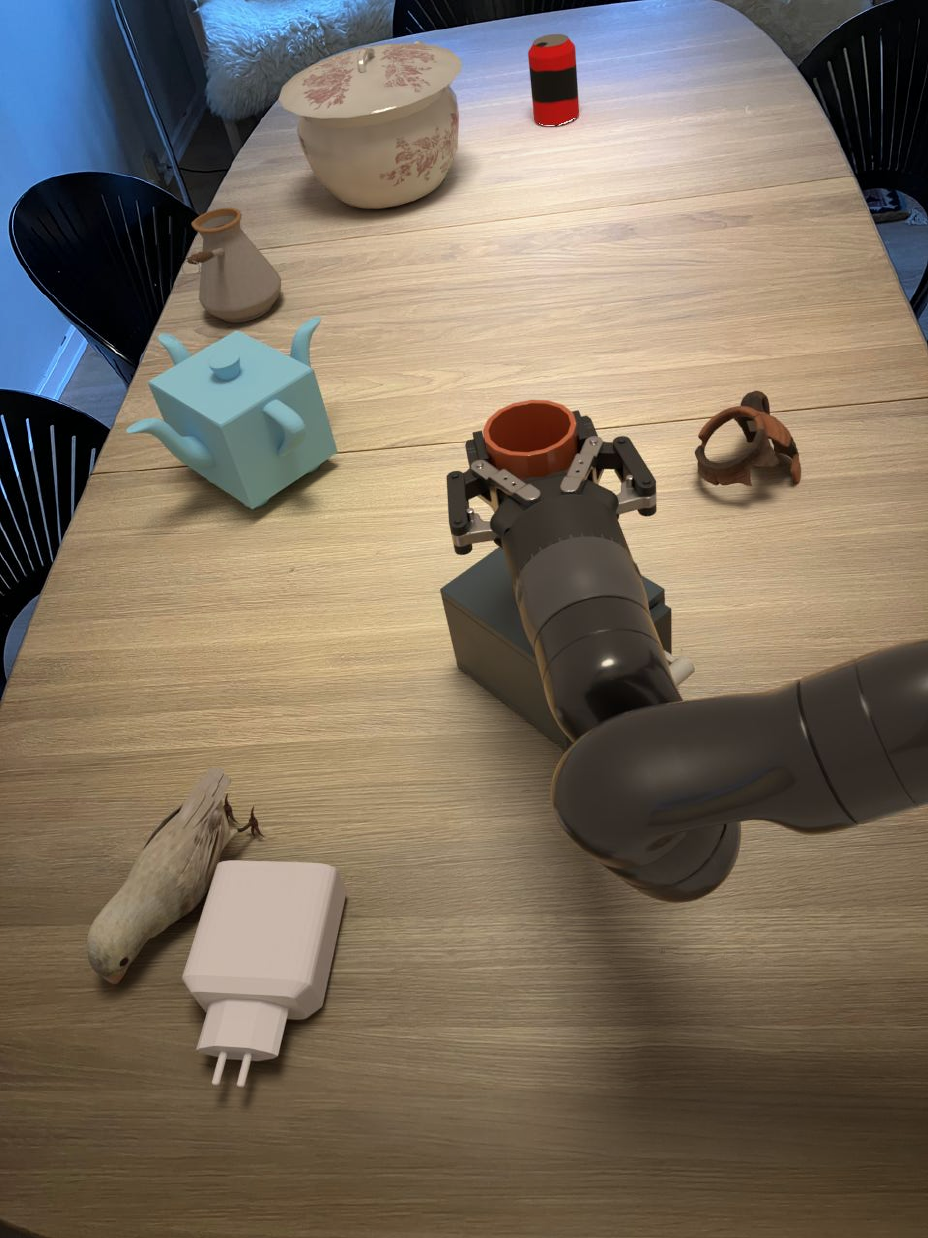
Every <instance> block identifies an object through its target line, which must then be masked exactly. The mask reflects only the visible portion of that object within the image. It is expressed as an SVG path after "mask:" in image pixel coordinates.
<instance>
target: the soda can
mask: <svg viewBox="0 0 928 1238" xmlns="http://www.w3.org/2000/svg"><path fill="white" fill-rule="evenodd" d="M576 54H577V53H576V45H575V44H574V42H573V41H572V40H571V39H570V37H569V36H568V35H567V34H563V33H552V34H551V33H550V34H545V35H542V36H540V37H537V38H535V39H533V41H532V44H531V46H530V48H529V49H528V52H527V58H528V68H529V79H530V80H529V81H530V89H531V90H530V91H531V101H532V113H533V120H534V122H535V123H536V124H538V123H540V124H543V125H559V124H561V123H564V122H566V121H569V120H571V119H573V118H576V117H577V118H578V116H579V115H580V103H579V89H578V88H579V87H578V85H579V84H578V72H577V71H578V70H577V55H576ZM578 114H579V115H578ZM577 118H576V119H577Z"/></svg>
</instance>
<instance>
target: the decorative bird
mask: <svg viewBox="0 0 928 1238" xmlns="http://www.w3.org/2000/svg"><path fill="white" fill-rule="evenodd" d="M231 782H232V778H231V777H230V776H229V775H228V774H227V773H225V770H224V768H223V767H221V766H220V765H216V766H214V767H209V768H208V769H207V770H206V772H205V773H204V775H203V777H202V778H200V779H199V780H198V781H197V783H196V785H195V786H194V787H193V788H192V790H191V791H190V793H189V794H188V796H187V798H186V799H185V801H184V802H182V803H181V804H180V805H179V806H177V807H175V808H174V810H172V811H171V812H170V813H168V815H166V816H165V817H164V818H163V819H162V820H161V821H160V822H159V823H158V824H157V826H155V828H154V829H153V831H151V833H150V835H149V836H148V837H147V838H146V841H145V842H144V843H143V846H142V848H141V850H140V852H139V854H138V855H137V857H136V859H135V862H134V863H133V865H132V867H131V869H130V872H129V874H128V876H127V878H126V880H125V882H123V884H122V886H121V887H120V888H119V890H118V891H117V892H116V893H115V894H114V895H113V897H112V898H111V899H110V900H109V901H108V902H107V904H105V906H104V907H103V908H102V910H101V911H100V912H99V913H98V914H97V916H96V917H95V919H94V920H93V922H92V924H91V926H90V927H89V930H88V933H87V937H86V952H87V958H88V962H89V965H90V966H91V968H92V970H93V971H94V972H95V973H96V974H98V975H100V977H102V978H104V980H106V981H107V982H108V983H110V984H112V985H117V984H118V983H120V982H121V980H122V979H123V977H124V976H125V975H126V972H127V970H128V968H129V967H130V965H131V964H132V963H133V961H135V959H136V958H137V957H138V955H139V953H140V951H142V948H143V947H144V945H146V943H147V942H148V940H149V939H154V938H156V937H157V936H158V935H159V934H161V933H162V932H164V931H165V930H166V929H167V928H168V927H170V926H171V925H172V924H174V923H175V922H177V921H178V920H180V919H182V918H183V917H185V916H186V915H188V914H190V912H192V911H193V910H194V909H195V908H196V907H197V906H198V905H199V904H200V903H201V901H202V900H203V898H204V896H205V895H206V893H207V891H208V889H209V888H210V886H211V883H212V880H213V877H214V873H215V870H216V867H217V864H218V863H219V862H220V858H221V855H222V853H223V851H224V849H225V847H226V846H227V844H229V842H230V841H231V840H232V839H233V838H235V837H236V836H237V835H238V833H243V832H245V831H246V830H248V829H249V828H250V832H251V834H252V836H253V837H256V835H255V832H256V833H257V834H258V835H259V836H261V837H263V838H266V836H265V835H264V834H262V832H261V830H260V828H259V820H258V818H256V816H255V814H254V811H255V805H253V806H252V808H251V810H250V818H248V822H247V823H246V824H245V825H244V826H243V827H239V828H237V827H236V828H232V829H230V821H229V819H231V821H233V822H234V823H235V824H238V825H240V823H239V822H238V821H237V820H236V819H235V817H234V815H233V808H232V806H231V804H230V803H229V801H228V797H229V792H227V793H226V794H225V792H226V791H227V789H228V788H229V786H230V785H231ZM224 796H225V797H224ZM223 798H224V803H223Z"/></svg>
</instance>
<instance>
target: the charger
mask: <svg viewBox="0 0 928 1238" xmlns="http://www.w3.org/2000/svg"><path fill="white" fill-rule="evenodd" d="M208 889H209V890H208V893H207V896H206V899H205V903H204V906H203V909H202V912H201V915H200V919H199V922H198V924H197V928H196V931H195V935H194V938H193V941H192V944H191V948H190V951H189V954H188V957H187V961H186V965H185V967H184V970H183V973H182V977H181V980H182V981H183V984H185V986H186V988H187V990H188V991H189V992H190V994H191V996H192V997H193V998H194V999H195V1000H196V1002H197V1003H198V1004H199V1006H200V1007H201V1008H202V1010H203V1011H204V1012H205V1013H206V1015H205V1017H204V1022H203V1025H202V1028H201V1033H200V1036H199V1039H198V1042H197V1046H196V1050H195V1051H196V1052H199V1053H201V1054H203V1055H207V1056H212V1057H215V1058H217V1062H216V1065H215V1069H214V1072H213V1077H212V1080H211V1085H212V1086H214V1087H217V1086H219V1085H220V1084H221V1080H222V1078H223V1072H224V1068H225V1065H226V1060H235V1061H236V1060H237V1061H242V1062H241V1066H240V1071H239V1074H238V1078H237V1082H236V1087H238V1088H240V1089H241V1088H244V1087H245V1085H246V1083H247V1079H248V1078H247V1077H248V1074H249V1070H250V1065H251V1062H261V1061H268V1060H273V1059H275V1058H277V1057H278V1056H279V1054H280V1050H281V1044H282V1040H283V1035H284V1031H285V1027H286V1023H287V1020H296V1021H297V1020H298V1021H299V1020H306V1019H307V1018H309V1017H310V1016H312V1015H313V1014H314V1013H316V1012H317V1011H318V1010H320V1009H321V1008H322V1007H323V1005H324V1001H325V997H326V991H327V988H328V987H327V986H328V982H329V977H330V973H331V968H332V963H333V959H334V953H335V949H336V944H337V939H338V934H339V930H340V929H339V928H340V925H341V921H342V916H343V911H344V906H345V901H346V898H347V891H348V889H347V887H346V885H345V883H344V881H343V879H342V876H341V874H340V872H339V870H338V868H336V866H333V865H331V864H327V863H323V862H322V863H321V862H310V861H309V862H306V861H304V862H303V861H272V860H271V861H269V860H239V859H238V860H237V859H235V860H222V861H219V863H218V864H217V867H216V870H215V873H214V877H213V879H212V881H211V884H210V885H209V888H208Z"/></svg>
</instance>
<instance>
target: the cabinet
mask: <svg viewBox="0 0 928 1238" xmlns="http://www.w3.org/2000/svg"><path fill="white" fill-rule="evenodd" d="M641 576H642V583H643V586H644V589H645V592H646V595H647V600H648V605H649V610H651V609H652V608H653V607H654V606H655V605H657V604H658V603H659V602H661V603H663V604H665V605H666V597H665V596H666V589H665V588H664V587H662V586H661V585H659V584H657V583H655V582H654V581H653V580H651V579H649V578H647V577H646V576H644V575H642V574H641ZM439 591H440V596H441V601H442V606H443V608H444V614H445V618H446V623H447V627H448V631H449V632H448V633H449V635H450V640H451V644H452V648H453V654H454V658H455V662H456V666H457V668H458V669H460V670H461V671H462V672H464V673H465V674H466V675H467V676H468V677H470V678H471V679H472V680H473V681H475V682H476V683H478V684H479V685H480V686H482V687H483V689H485V690H487V691H488V692H489V693H491V694H492V695H493V696H494V697H496V698H497V699H498V700H499V701H501V702H502V703H503V704H504V705H506V706H507V707H509V708H510V709H511V710H512V711H514V712H515V713H516V714H518V715H519V716H520V717H521V718H522V719H524V720H525V721H527V722H528V723H529V724H530V725H532V726H533V727H534V728H535V729H537V730H538V731H539V732H541V733H542V734H543V735H544V736H545V737H547V738H548V739H549V740H551V741H552V742H553V743H555V744H556V745H557V746H558V747H560V748H561V749H562V750H563V751H564V752H566V751H567V749H568V748H569V747H570V746H571V745H572V744H573V742H572V741H571V740H570V739H569V738H568V737H567V735H566V734H565V733H564V732H563V731H562V729H561V728H560V727H559V725H558V723H557V722H556V720H555V718H554V716H553V714H552V712H551V710H550V707H549V705H548V702H547V699H546V695H545V691H544V688H543V684H542V680H541V676H540V672H539V669H538V665H537V661H536V657H535V654H534V651H533V649H532V647H531V644H530V642H529V640H528V638H527V636H526V633H525V630H524V627H523V624H522V620H521V616H520V612H519V608H518V605H517V602H516V597H515V593H514V589H513V585H512V581H511V577H510V573H509V570H508V566H507V562H506V558H505V554H504V551H503V550H502V549H501V548H500V547H499V546H497V548H495V549H493V550H492V551H491V552H490V553H488V554H487V555H485V556H484V557H483V558H481V559H479V561H477V562H475V563H474V564H473V565H472V566H470V567H469V568H467V569H466V570H465V571H463V572H462V573H460V574H459V575H458V576H456V577H454V579H452V580H450V581H449V582H448V583H446V584H445V585H443V586H441V588H439Z"/></svg>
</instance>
